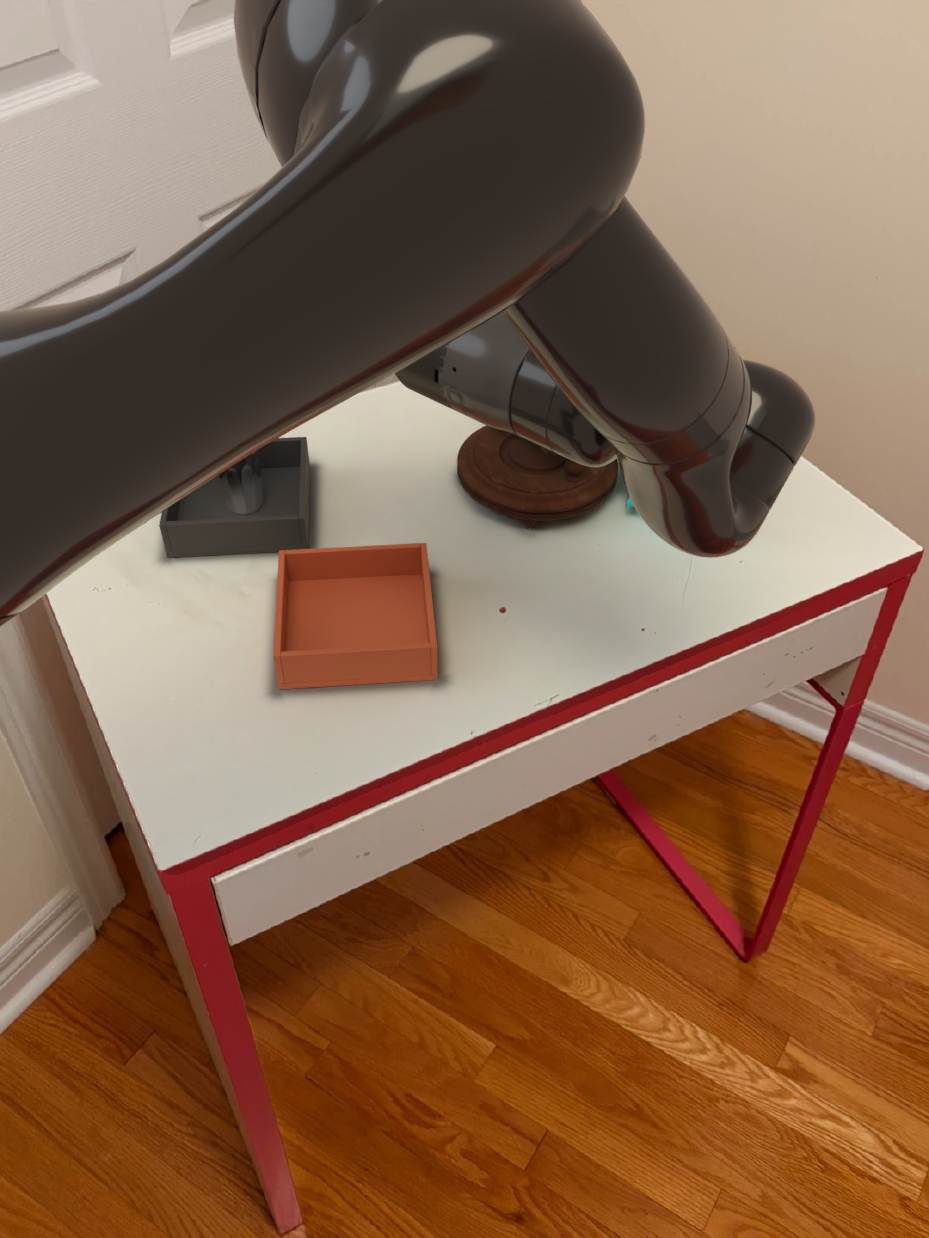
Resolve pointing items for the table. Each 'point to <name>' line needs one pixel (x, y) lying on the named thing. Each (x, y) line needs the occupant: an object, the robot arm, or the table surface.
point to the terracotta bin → (354, 616)
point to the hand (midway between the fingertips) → (300, 275)
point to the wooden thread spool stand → (529, 478)
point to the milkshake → (243, 485)
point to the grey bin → (274, 526)
